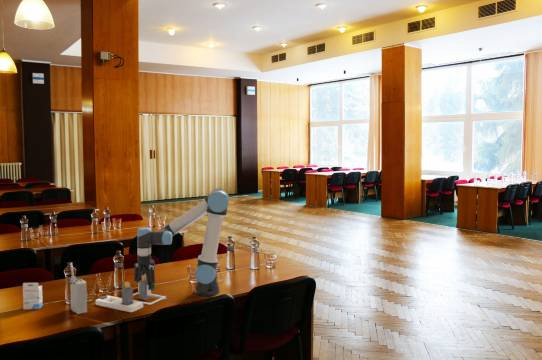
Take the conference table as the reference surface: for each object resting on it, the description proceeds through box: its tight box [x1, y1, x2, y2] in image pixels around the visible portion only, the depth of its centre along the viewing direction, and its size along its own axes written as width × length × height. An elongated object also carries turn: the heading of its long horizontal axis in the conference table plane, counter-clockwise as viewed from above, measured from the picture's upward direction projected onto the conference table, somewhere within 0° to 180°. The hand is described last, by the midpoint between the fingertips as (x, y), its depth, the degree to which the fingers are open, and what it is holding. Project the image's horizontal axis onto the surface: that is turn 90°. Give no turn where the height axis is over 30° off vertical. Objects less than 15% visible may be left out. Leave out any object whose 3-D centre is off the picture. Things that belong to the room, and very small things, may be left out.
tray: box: [133, 291, 167, 306], centre depth 268 cm, size 20×14×2 cm
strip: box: [94, 295, 144, 313], centre depth 256 cm, size 26×9×4 cm, turn 64°
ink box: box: [22, 282, 43, 310], centre depth 253 cm, size 8×5×15 cm, turn 96°
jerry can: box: [69, 262, 88, 316], centre depth 249 cm, size 15×5×25 cm, turn 38°
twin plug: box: [121, 281, 134, 306], centre depth 253 cm, size 4×4×14 cm
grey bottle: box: [139, 275, 151, 301], centre depth 268 cm, size 4×4×14 cm
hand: (144, 294), depth 268 cm, fingers open, 6 cm apart
